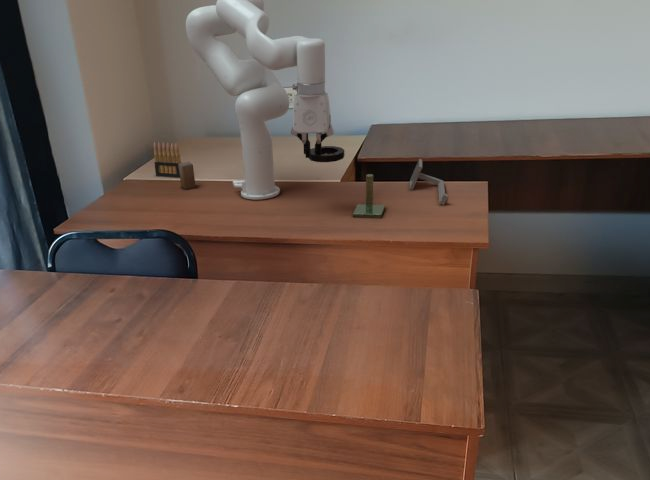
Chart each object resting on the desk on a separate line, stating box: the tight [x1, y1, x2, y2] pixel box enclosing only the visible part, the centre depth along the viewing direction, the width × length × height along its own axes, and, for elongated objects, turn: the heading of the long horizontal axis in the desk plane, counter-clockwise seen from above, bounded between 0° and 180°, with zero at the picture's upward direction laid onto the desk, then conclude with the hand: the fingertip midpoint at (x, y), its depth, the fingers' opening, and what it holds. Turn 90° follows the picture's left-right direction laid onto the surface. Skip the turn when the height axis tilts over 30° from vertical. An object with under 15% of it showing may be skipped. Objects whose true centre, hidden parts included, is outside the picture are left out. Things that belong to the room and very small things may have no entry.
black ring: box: [307, 145, 345, 163], centre depth 189 cm, size 10×10×2 cm
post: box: [352, 173, 386, 219], centre depth 190 cm, size 8×8×11 cm
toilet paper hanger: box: [409, 158, 449, 206], centre depth 203 cm, size 23×9×8 cm, turn 168°
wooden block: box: [178, 161, 196, 190], centre depth 224 cm, size 4×4×8 cm
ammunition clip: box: [153, 141, 183, 179], centre depth 236 cm, size 11×2×12 cm, turn 66°
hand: (312, 156), depth 191 cm, fingers closed on black ring, 2 cm apart
